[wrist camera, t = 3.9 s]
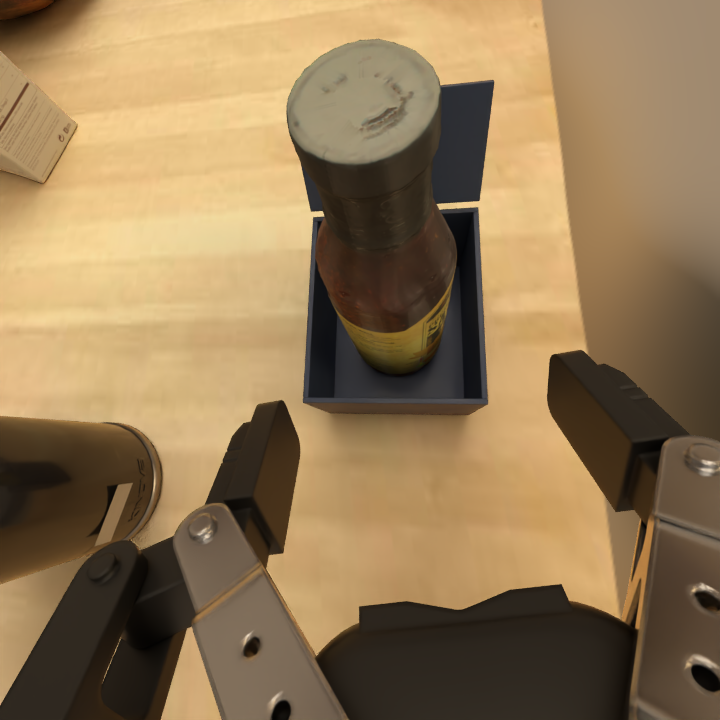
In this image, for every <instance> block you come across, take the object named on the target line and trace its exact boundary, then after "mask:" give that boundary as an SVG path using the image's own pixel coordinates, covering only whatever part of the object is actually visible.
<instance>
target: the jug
mask: <svg viewBox="0 0 720 720" xmlns="http://www.w3.org/2000/svg"><path fill="white" fill-rule="evenodd" d="M54 1H56V0H0V20H4V19H13V18H17V17H20V16H23V15H26V14H29V13H32V12H35V11H38V10H41V9H43V8H45V7H47V6H48V5H50V4H51V3H53V2H54Z"/></svg>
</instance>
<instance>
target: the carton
mask: <svg viewBox="0 0 720 720" xmlns="http://www.w3.org/2000/svg"><path fill="white" fill-rule="evenodd" d="M440 212H441V214H442V215H443V217H444V219H445V221H446V223H447V225H448V227H449V229H450V230H451V232H452V234H453V237H454V240H455V243H456V249H457V260H456V268H455V273H454V278H453V284H452V289H451V293H450V301H449V305H448V309H447V315H446V318H445V323H444V328H443V333H442V338H441V342H440V345H439V348H438V350H437V352H436V353H435V355H434V356H433V358H432V359H431V360H430V362H429V363H428V364H427V365H425V366H424V367H423V368H421V369H420V370H419V371H417V372H415V373H413V374H410V375H406V376H391V375H387V374H383V373H381V372H377V371H376V370H375V369H373V368H372V367H371V366H370V365H369V364H367V363H366V362H365V361H364V360H363V359H362V357H361V356H360V354H359V353H358V351H357V349H356V347H355V345H354V344H353V342H352V340H351V338H350V336H349V334H348V332H347V331H346V329H345V327H344V325H343V323H342V321H341V319H340V318H339V316H338V314H337V312H336V310H335V308H334V306H333V304H332V302H331V300H330V298H329V295H328V291H327V288H326V286H325V285H324V282H323V280H322V278H321V277H320V273H319V271H318V264H317V261H316V258H315V251H316V249H315V245H316V242H317V237H318V232H319V229H320V226H321V223H322V221H323V219H324V217H313V231H312V249H311V267H310V284H309V302H308V320H307V338H306V356H305V374H304V392H303V397H304V398H303V403H305V404H308V405H311V406H313V407H316V408H318V409H321V410H324V411H326V412H329V413H352V414H430V415H469V414H471V413H473V412H475V411H476V410H478V409H480V408H482V407H484V406H485V405H487V404H488V399H487V398H488V395H487V375H486V354H485V334H484V314H483V293H482V273H481V253H480V233H479V213H478V207H476V208H460V209H443V210H440Z"/></svg>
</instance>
